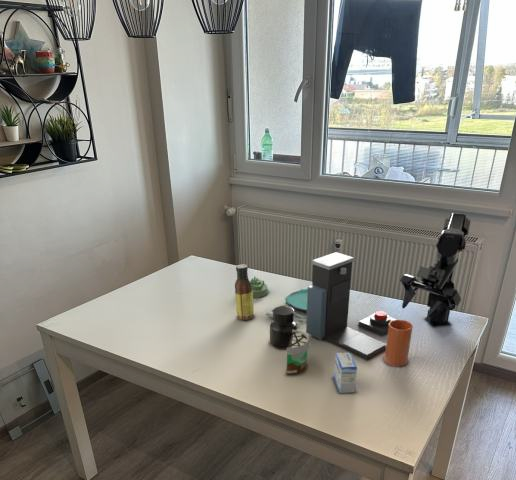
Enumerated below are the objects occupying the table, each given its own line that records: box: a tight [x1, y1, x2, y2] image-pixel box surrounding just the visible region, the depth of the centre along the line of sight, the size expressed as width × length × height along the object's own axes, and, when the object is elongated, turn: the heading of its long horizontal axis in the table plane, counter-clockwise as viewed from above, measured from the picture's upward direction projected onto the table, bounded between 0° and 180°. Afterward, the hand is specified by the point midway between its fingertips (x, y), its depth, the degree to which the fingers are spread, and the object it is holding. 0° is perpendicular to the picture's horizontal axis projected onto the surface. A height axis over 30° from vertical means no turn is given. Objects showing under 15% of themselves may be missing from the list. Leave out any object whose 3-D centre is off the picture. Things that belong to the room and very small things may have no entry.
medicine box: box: [333, 352, 358, 394], centre depth 138 cm, size 8×4×9 cm, turn 5°
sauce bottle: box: [234, 263, 255, 321], centre depth 174 cm, size 7×6×20 cm
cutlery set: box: [264, 288, 308, 326], centre depth 184 cm, size 20×30×2 cm, turn 136°
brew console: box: [358, 312, 398, 337], centre depth 170 cm, size 11×10×4 cm
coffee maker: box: [305, 251, 386, 361], centre depth 156 cm, size 14×25×26 cm, turn 41°
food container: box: [285, 329, 311, 376], centre depth 146 cm, size 12×6×10 cm, turn 168°
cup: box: [383, 319, 414, 367], centre depth 148 cm, size 7×7×12 cm
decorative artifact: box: [249, 276, 269, 299], centre depth 197 cm, size 10×7×10 cm
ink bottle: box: [269, 305, 298, 350], centre depth 159 cm, size 10×9×12 cm
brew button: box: [374, 310, 388, 320], centre depth 169 cm, size 4×4×2 cm
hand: (415, 312), depth 149 cm, fingers open, 9 cm apart
